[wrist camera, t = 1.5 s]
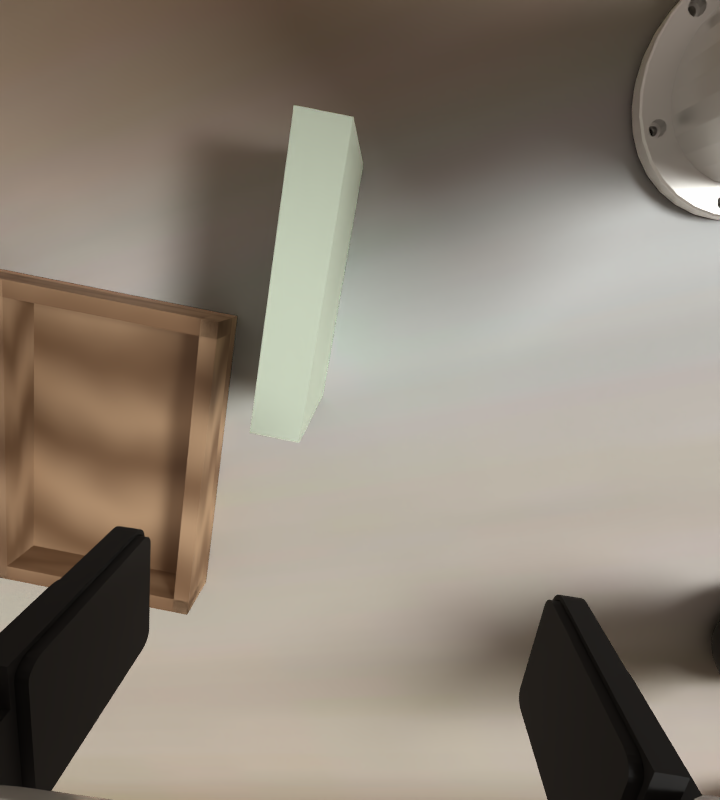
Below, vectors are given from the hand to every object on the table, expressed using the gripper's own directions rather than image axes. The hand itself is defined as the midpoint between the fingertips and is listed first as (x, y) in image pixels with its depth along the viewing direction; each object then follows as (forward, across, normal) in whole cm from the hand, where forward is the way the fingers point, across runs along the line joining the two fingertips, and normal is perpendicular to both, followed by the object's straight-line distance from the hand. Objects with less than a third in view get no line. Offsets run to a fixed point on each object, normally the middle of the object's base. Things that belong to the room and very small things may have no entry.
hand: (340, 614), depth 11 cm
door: (+21, +4, -6) cm, 22 cm away
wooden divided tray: (+20, +18, +6) cm, 28 cm away
